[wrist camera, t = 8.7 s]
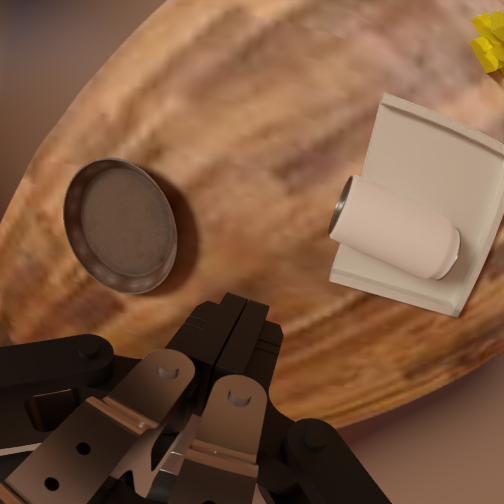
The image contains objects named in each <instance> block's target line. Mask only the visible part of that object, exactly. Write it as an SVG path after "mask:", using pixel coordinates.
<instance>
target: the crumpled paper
mask: <svg viewBox="0 0 504 504" xmlns="http://www.w3.org/2000/svg"><path fill="white" fill-rule="evenodd" d="M471 22H472V23H473V25H474V26H475V28H476V29H477V31H478V32H479V34H480V36H481V37H479V38H477V39H474V40H473V41H471V42H469V44H470V46H471V47H472V49H473V50H474V52H475V54H476V56H477V57H478V59H479V61H480V62H481V64H482V66H483V68H484V70H485V71H486V73H489V72H493V71H496V70H497V69H500V70H501V72H502V74H503V76H504V13H502V12H501V11H495V12H494V13H492V14H491V18H490V16H489V15H488V13H487V12H486V13H484V14H482V15H480V16H477V17H475V18H474V19H472V20H471Z"/></svg>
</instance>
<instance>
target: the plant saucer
mask: <svg viewBox="0 0 504 504" xmlns="http://www.w3.org/2000/svg"><path fill="white" fill-rule="evenodd" d="M63 220H64V227H65V232H66V236H67V239H68V242H69V244H70V247H71V249H72V251H73V253H74V255H75V257H76V258H77V260H78V262H79V263H80V264H81V266H82V267H83V268H84V269H85V270H86V272H87V273H88V274H89V275H90V276H91V277H93V278H94V279H95V280H96V281H97V282H99V283H100V284H102V285H103V286H105V287H107V288H109V289H111V290H114V291H116V292H119V293H125V294H141V293H145V292H148V291H150V290H152V289H154V288H156V287H157V286H158V285H160V284H161V283H162V282H163V281H164V280H165V279H166V277H167V276H168V274H169V272H170V271H171V269H172V267H173V264H174V261H175V257H176V252H177V229H176V223H175V218H174V214H173V211H172V208H171V206H170V204H169V201H168V199H167V197H166V196H165V194H164V192H163V191H162V189H161V188H160V187H159V185H158V184H157V183H156V182H155V181H154V179H153V178H152V177H151V176H150V175H148V174H147V173H146V172H145V171H144V170H142V169H141V168H139V167H138V166H136V165H134V164H133V163H131V162H128V161H126V160H122V159H119V158H100V159H96V160H93V161H91V162H89V163H87V164H86V165H84V166H83V167H82V168H80V169H79V170H78V171H77V173H76V174H75V175H74V177H73V178H72V180H71V181H70V184H69V186H68V188H67V191H66V194H65V199H64V205H63Z"/></svg>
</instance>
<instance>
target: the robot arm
mask: <svg viewBox="0 0 504 504" xmlns="http://www.w3.org/2000/svg"><path fill="white" fill-rule="evenodd" d="M247 302H248V303H247ZM269 307H270V306H268V305H265V304H262V303H259V302H256V301H253V300H250V299H249V301H248V299H246V298H243V297H241V296H238V295H235V294H232V293H229V292H227V293H226V295H225V296H224V298H223V299H222V301H221V302H220V304H216V303H213V302H211V301H206V302H204V303H202V304H200V305H198V306H196V308H195V309H194V310H193V312H192V313H191V314H190V317H188V318H187V320H186V321H185V323H184V324H183V325H182V326H181V327H180V329H179V330H178V331H177V333H176V334H175V335H174V337H173V338H172V339H171V341H170V342H169V343H168V345H167V346H166V347H165V349H159V350H155V351H152V352H150V353H148V354H147V355H146V356H145V357H144V358H143V359H134V358H128V357H123V356H118V355H114V351H113V347H112V345H111V344H110V343H109V342H108V341H107V340H106V339H104V338H102V337H100V336H97V335H93V334H83V335H77V336H71V337H65V338H58V339H52V340H46V341H39V342H33V343H26V344H19V345H12V346H5V347H0V449H5V448H12V447H19V446H25V445H31V444H37V443H41V444H40V445H39V446H38V447H37V448H36V449H35V450H34V451H25V452H20V453H14V454H9V455H3V456H0V504H252V502H253V497H254V491H255V486H256V483H257V484H258V488H259V491H260V493H261V495H262V497H263V498H264V500H265V502H266V503H267V504H392V503H391V502H390V501H389V499H388V498H387V497H386V496H385V494H384V493H383V492H382V490H381V489H380V488H379V486H378V485H377V484H376V483H375V481H374V480H373V479H372V477H371V476H370V475H369V473H368V472H367V471H366V470H365V468H364V467H363V466H362V464H361V463H360V462H359V460H358V459H357V458H356V456H355V455H354V454H353V452H352V451H351V450H350V448H349V447H348V446H347V444H346V443H345V442H344V440H343V439H342V438H341V436H340V435H339V434H338V432H337V431H336V430H335V429H334V428H333V427H332V426H331V425H329V424H328V423H326V422H324V421H321V420H318V419H312V418H307V419H301V420H299V421H297V422H295V421H293V420H291V419H289V418H288V417H286V416H284V415H283V414H281V413H280V412H279V411H278V410H277V409H276V408H275V407H274V406H273V404H272V403H271V401H270V398H269V386H270V383H271V379H272V376H273V372H274V369H275V365H276V362H277V358H278V354H279V351H280V347H281V343H282V340H283V333H282V330H281V327H280V325H279V324H276V323H273V322H269V321H266V317H267V313H268V310H269ZM68 389H71V390H69V391H64V392H59V393H53V394H48V395H42V396H36V395H41V394H47V393H52V392H58V391H63V390H68ZM34 396H36V397H34Z"/></svg>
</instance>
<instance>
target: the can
mask: <svg viewBox="0 0 504 504" xmlns="http://www.w3.org/2000/svg"><path fill="white" fill-rule="evenodd" d="M328 234H329V235H330V238H331V239H333V240H336V241H338V242H340V243H342V244H345V245H347V246H349V247H352V248H354V249H356V250H358V251H361V252H363V253H365V254H368V255H370V256H372V257H374V258H377V259H379V260H381V261H383V262H386V263H388V264H390V265H392V266H395V267H397V268H399V269H401V270H404V271H406V272H408V273H410V274H412V275H415V276H417V277H419V278H422V279H431V278H433V279H434V280H436V281H439V280H442V279H443V278H445V277H446V276H447V275H448V274H449V272H450V271H451V270H452V268H453V267H454V265H455V263H456V261H457V258H458V256H459V253H460V249H461V241H462V239H461V233H460V231H459V229H457V228H454V226H453V225H452V223H451V222H450V221H449V220H448V219H447V218H445V217H444V216H442V215H440V214H438V213H436V212H435V211H433V210H431V209H429V208H427V207H425V206H423V205H421V204H419V203H417V202H415V201H413V200H411V199H409V198H407V197H405V196H403V195H401V194H399V193H397V192H394V191H392V190H390V189H388V188H386V187H384V186H381V185H379V184H377V183H375V182H373V181H370V180H368V179H366V178H363V177H361V176H358V175H354V176H350V177H349V179H348V181H347V183H346V185H345V187H344V189H343V191H342V194H341V196H340V198H339V201H338V203H337V206H336V208H335V211H334V214H333V216H332V219H331V222H330V225H329V229H328Z"/></svg>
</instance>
